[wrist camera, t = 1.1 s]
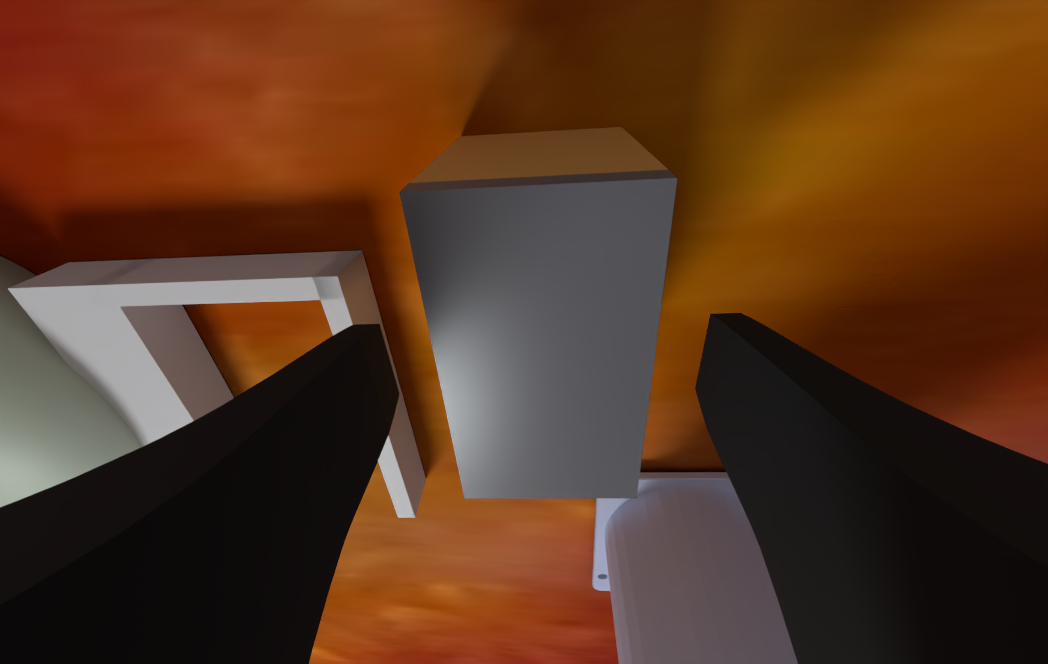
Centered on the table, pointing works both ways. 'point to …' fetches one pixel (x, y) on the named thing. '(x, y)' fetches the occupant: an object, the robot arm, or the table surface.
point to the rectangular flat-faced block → (544, 305)
